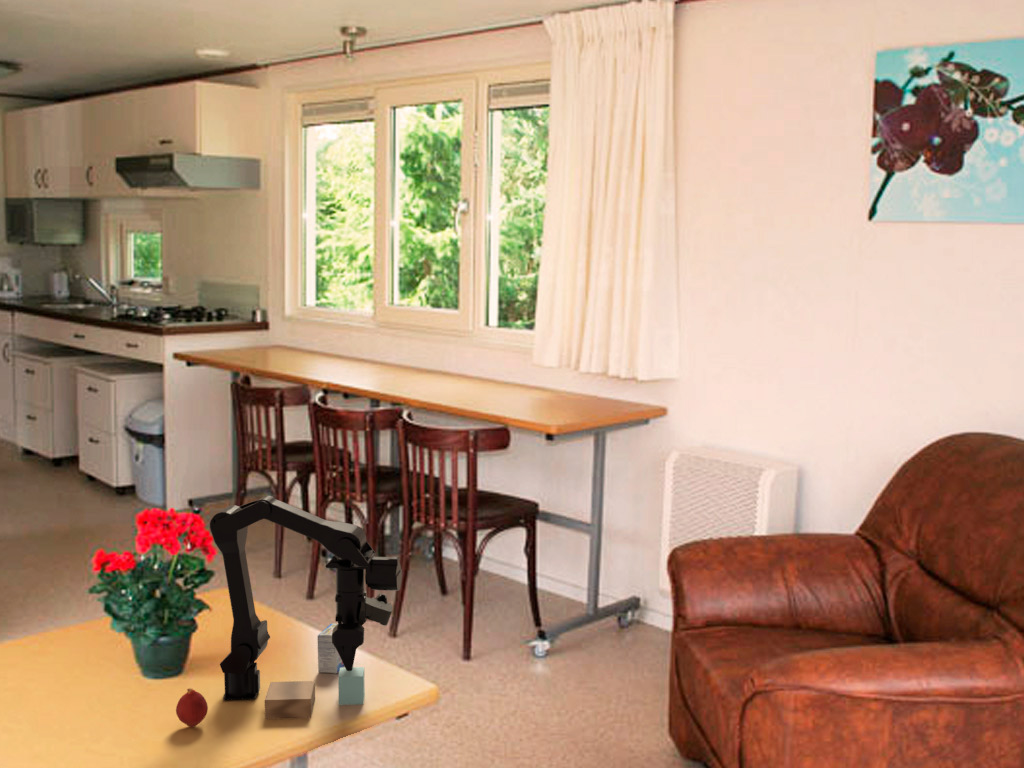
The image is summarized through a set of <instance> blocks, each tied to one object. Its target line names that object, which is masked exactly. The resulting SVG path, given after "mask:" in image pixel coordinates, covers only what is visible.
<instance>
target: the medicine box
mask: <svg viewBox="0 0 1024 768" xmlns="http://www.w3.org/2000/svg"><path fill="white" fill-rule="evenodd" d="M337 624H338V623H334V622H333V623H330V624H329V625H327V627H326V628H323V630H322V631H321V632H319V634H318V635H317V663H318V664H317V666H318V667H317V668H318V673H322V674H323V673H324V674H334V675H335V674H337V675H338V674H339V670H340V668H344V667H345V666H344V664H343V662H342V660H341V657H340V656H339V653H338V652H337V650H336V648H335V646H334V645H333V644H332V632H333V628H334V627H335V626H336V625H337Z"/></svg>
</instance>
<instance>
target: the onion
mask: <svg viewBox="0 0 1024 768" xmlns="http://www.w3.org/2000/svg"><path fill="white" fill-rule="evenodd" d="M208 709H209V705H208V702H207V700H206V698H205V697H204V695H203V694H201V693H200V692H199V691H196V689H193V688H192V687H189V688H187V689H186V692H185V693H184V694H183V695H182V696H181V697H180V698H179V699H178V702H177V705H176V709H175V713H176V716H177V717H178V719H179V721H180V722H181V723H183V724H184V725H186V726H188V727H189V728H195V727H196V726H199V724H200V723H202V722H203V720H205V718H206V716H207V714H208Z"/></svg>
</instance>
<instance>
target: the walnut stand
mask: <svg viewBox="0 0 1024 768" xmlns="http://www.w3.org/2000/svg"><path fill="white" fill-rule="evenodd" d="M315 702H316V681H315V680H297V681H296V680H294V681H290V680H289V681H270V682H269V685H268V688H267V691H266V695H265V697H264V719H265V720H287V719H289V720H291V719H293V720H294V719H297V720H298V719H312V715H313V710H314V707H315Z"/></svg>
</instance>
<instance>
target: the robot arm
mask: <svg viewBox="0 0 1024 768" xmlns="http://www.w3.org/2000/svg"><path fill="white" fill-rule="evenodd" d="M261 520H267V521H269V522H271V523H274V524H276V525H278V526H281V527H284V528H286V529H288V530H291V531H293V532H295V533H297V534H301V536H305V537H307V538H310V539H312V540H314V541H316V542H318V543H319V544H320V545H322V546H323V548H324V549H325V550H327V551H328V552H329V553H331V554H332V555H333V556H332V558H331V559H330V560H329V561H327V563H326V564H325V566H324V567H325V568H326V569H335V597H334V601H335V602H334V603H335V605H336V606H335V611H336V612H335V619H334V620H335V621H334V622H337V623H336V624H337V625H336V626H335V627H334V628H333V632H332V644H333V645H334V646H335V648H336V650H337V652H338V653H339V656H340V657H341V660H342V662H343V664H344V666H343V667H345V668H346V670H347V671H352V669H353V667H354V662H355V657H356V652H357V648H359V647H360V646H362V645H363V644H364V642H365V627H364V625H365V624H366V622H367V620H369V621H372V622H375V623H379V624H380V625H381V626H388V624H389V621H390V618H391V615H392V612H393V604H392V603H391V602H388V596H387V594H385V593H383V592H382V593H379V594H378V595H376V597H369V596H367V590H366V588H365V584H366V585H367V588H370V590H372V591H392V592H397V591H398V592H399V591H401V588H402V583H403V582H402V578H403V569H402V566H401V562H400V557H399V555H398V556H394V555H392V556H377V552H376V551H375V550H374V548H373V547H372V546H371V544H370V543H369V541H368V540H367V536H366V533H365V530H364V529H363V528H362V527H361V526H359V525H356V524H352V523H347V522H343V521H335V520H334V521H332V520H327V519H323V518H321V517H319V516H317V515H315V514H312V513H310V512H307V511H305V510H302V509H300V508H298V507H295V506H294V505H290V504H288V503H286V502H284V501H281V500H279V499H276V498H275V497H274V496H272V495H264V496H262V497H261V498H258V499H256V500H252V501H250V502H247V503H245V504H242V505H240V506H238V505H236V504H235V505H233V504H231V505H227V506H226V507H224V508H223V509H222V510H220V511H219V512H217V513H216V514H214V515H213V516H212V518H211V519H210V521H209V530H210V533H211V536H212V538H213V542H214V544H215V545H216V547H217V549H218V550H219V551H220V553H221V554H222V559H223V565H224V566H223V567H224V571H225V572H224V573H225V576H226V577H225V578H226V583H227V588H228V594H229V601H230V602H229V603H230V607H231V612H232V618H233V619H232V620H233V623H232V628H231V629H232V630H231V633H230V634H231V635H230V652H229V653H228V654H227V655H226V656H225V657H224V658H223V660H222V661H221V662H220V663H219V666H220V669H221V671H222V673H223V677H224V679H223V680H224V694H223V696H222V700H223V701H247V700H248V701H249V700H250V701H253V700H255V699H256V698H257V695H258V694H259V692H260V691H261V690H260V689H261V670H260V669H258V663H257V662H256V661H257V660H258V658H259V657H261V655H262V653H263V652H264V651H265V649H266V648H267V647H268V645H269V643H268V642H269V640H270V639H271V635H270V633H269V631H268V619H267V620H266V619H265V620H260V619H259V616H258V615H257V613H256V607H255V603H254V602H255V601H254V597H253V595H254V594H253V591H252V584H251V578H250V571H249V565H248V561H247V553H246V543H247V538H248V529H249V526H251V525H252V524H255V523H258V522H259V521H261Z"/></svg>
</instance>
